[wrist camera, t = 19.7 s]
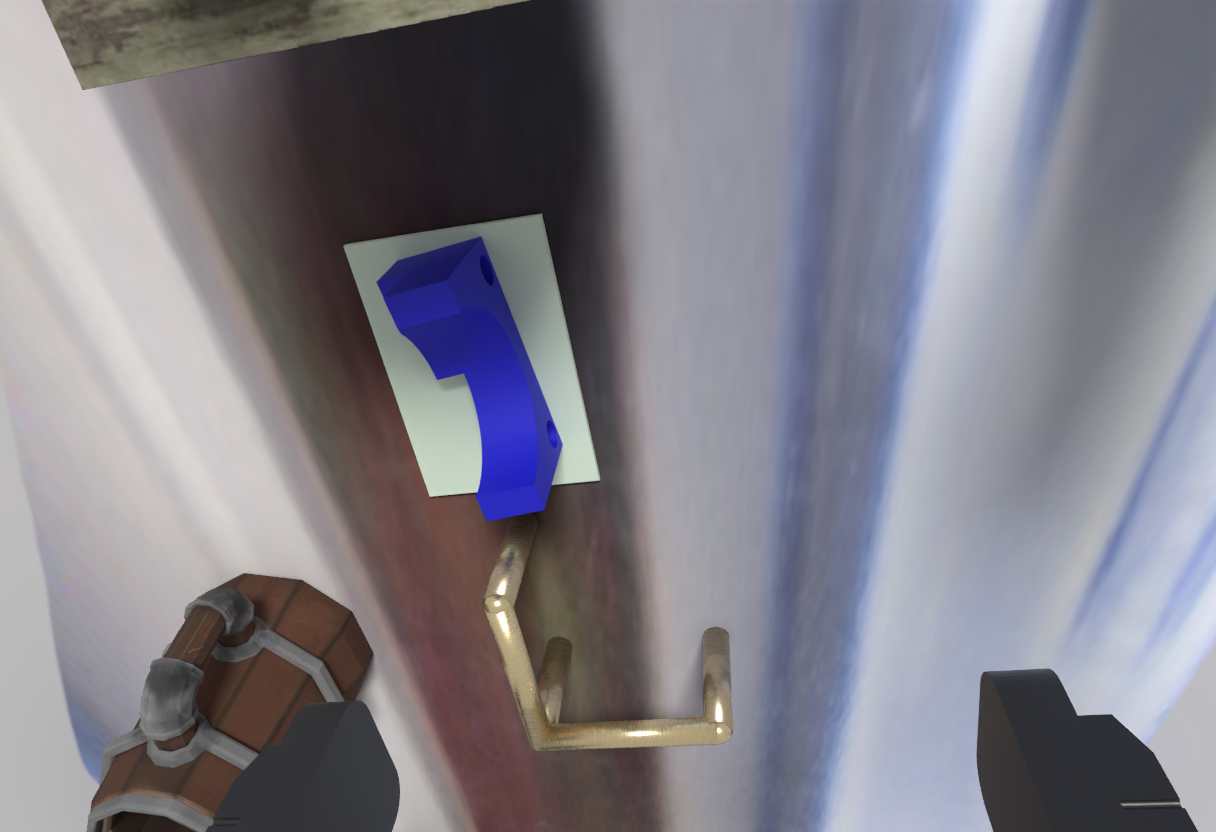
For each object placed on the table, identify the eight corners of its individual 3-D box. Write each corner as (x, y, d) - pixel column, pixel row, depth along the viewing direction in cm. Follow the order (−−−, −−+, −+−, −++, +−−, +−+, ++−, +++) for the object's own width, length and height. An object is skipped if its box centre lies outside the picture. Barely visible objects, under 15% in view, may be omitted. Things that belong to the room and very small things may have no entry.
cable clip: (397, 260, 40) (351, 306, 34) (481, 236, 39) (447, 279, 33) (486, 461, 45) (459, 527, 40) (562, 444, 44) (544, 509, 39)
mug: (380, 710, 57) (284, 933, 44) (213, 688, 57) (70, 902, 44) (361, 533, 49) (239, 741, 36) (169, 510, 50) (-20, 705, 37)
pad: (541, 213, 38) (540, 214, 38) (600, 477, 45) (599, 480, 45) (345, 244, 40) (343, 245, 40) (431, 493, 47) (429, 496, 47)
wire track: (708, 492, 45) (709, 586, 38) (730, 645, 50) (734, 750, 44) (507, 511, 47) (475, 603, 40) (550, 656, 52) (528, 758, 46)
